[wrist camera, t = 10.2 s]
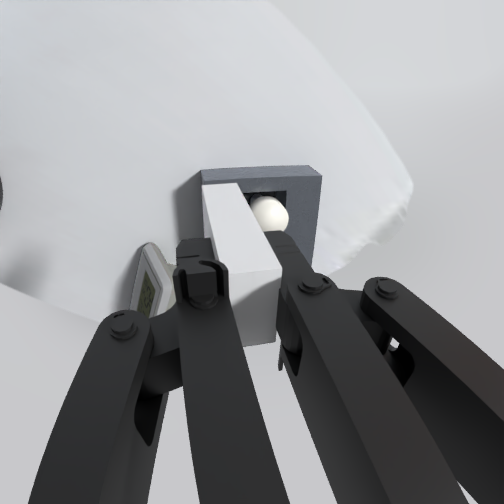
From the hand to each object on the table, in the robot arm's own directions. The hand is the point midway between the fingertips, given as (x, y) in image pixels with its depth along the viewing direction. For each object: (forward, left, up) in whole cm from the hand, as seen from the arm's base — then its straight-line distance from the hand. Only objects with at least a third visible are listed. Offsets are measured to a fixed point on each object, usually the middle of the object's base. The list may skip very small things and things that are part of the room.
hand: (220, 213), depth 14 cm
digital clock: (-8, -25, -31) cm, 41 cm away
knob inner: (+9, -12, -30) cm, 33 cm away
